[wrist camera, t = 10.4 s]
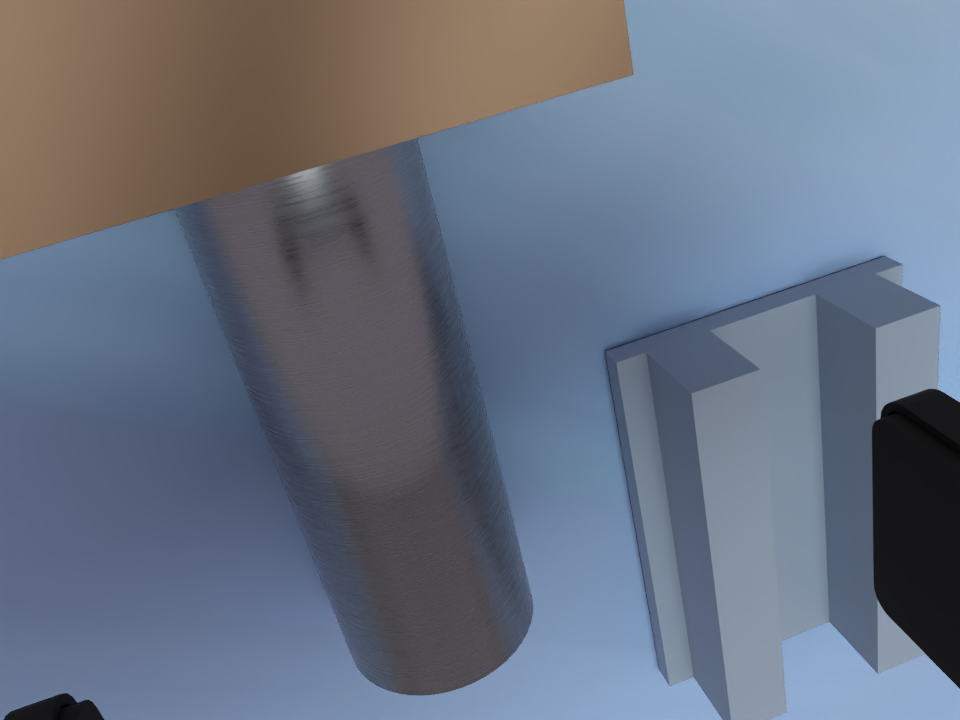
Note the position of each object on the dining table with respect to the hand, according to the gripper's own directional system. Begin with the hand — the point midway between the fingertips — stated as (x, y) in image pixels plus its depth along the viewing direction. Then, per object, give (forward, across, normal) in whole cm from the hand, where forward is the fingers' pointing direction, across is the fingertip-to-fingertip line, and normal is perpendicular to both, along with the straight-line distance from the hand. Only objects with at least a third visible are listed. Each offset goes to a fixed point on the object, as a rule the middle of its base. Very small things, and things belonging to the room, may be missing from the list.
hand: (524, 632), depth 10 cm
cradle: (+9, -8, +7) cm, 14 cm away
